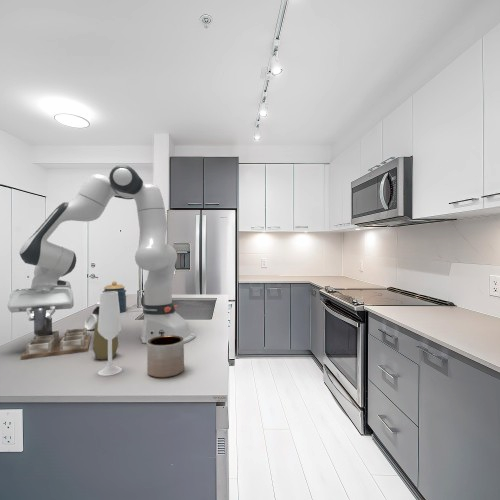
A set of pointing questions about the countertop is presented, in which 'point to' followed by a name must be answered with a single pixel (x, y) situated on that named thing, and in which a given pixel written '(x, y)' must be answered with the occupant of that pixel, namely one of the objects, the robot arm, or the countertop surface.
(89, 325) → the spread jar
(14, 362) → the countertop surface
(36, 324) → the pin
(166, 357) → the planter
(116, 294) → the champagne flute
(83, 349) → the wooden compartment tray
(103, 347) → the squeeze bottle
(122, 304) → the canister
